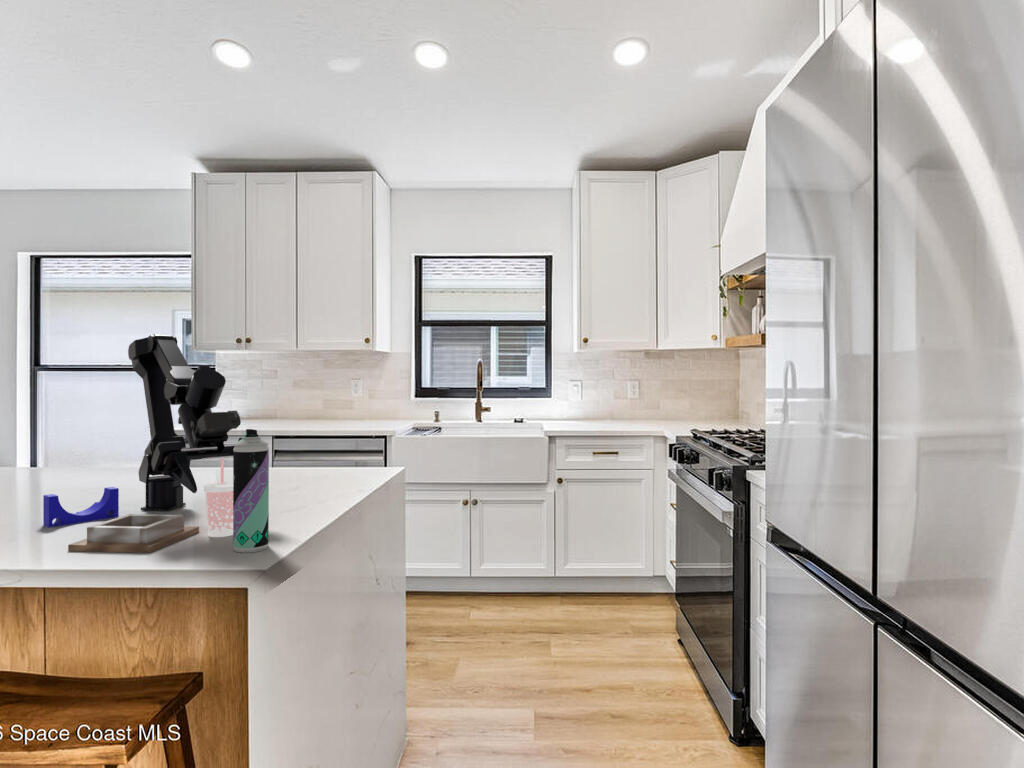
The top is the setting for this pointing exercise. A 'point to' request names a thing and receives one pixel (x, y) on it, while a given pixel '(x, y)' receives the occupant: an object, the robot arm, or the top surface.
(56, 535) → the top surface
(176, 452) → the robot arm
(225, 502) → the beverage cup
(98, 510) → the blue curved cradle bracket
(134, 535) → the cup holder board
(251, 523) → the spray can
